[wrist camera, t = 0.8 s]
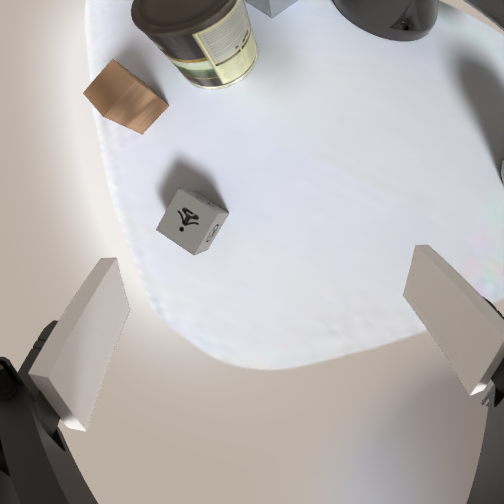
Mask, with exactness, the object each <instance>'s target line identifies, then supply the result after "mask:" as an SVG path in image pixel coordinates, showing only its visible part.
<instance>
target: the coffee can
mask: <svg viewBox="0 0 504 504" xmlns="http://www.w3.org/2000/svg"><path fill="white" fill-rule="evenodd" d="M131 16H132V20H133V22H134V23H135V25H136V26H137V27H138V28H139V29H140V30H141V31H143V32H144V33H145V34H146V35H147V36H148V37H149V38H150V39H151V40H152V41H153V42H154V43H155V44H156V45H157V46H158V47H159V49H160V50H161V51H162V52H163V53H164V54H165V55H166V56H167V57H168V58H169V59H170V60H171V61H172V63H173V64H174V65H175V66H176V67H177V68H178V69H179V71H180V72H181V73H182V74H183V76H184V77H185V78H186V79H187V80H188V81H189V82H190V83H191V84H193V85H195V86H197V87H200V88H204V89H220V88H225V87H228V86H231V85H233V84H235V83H237V82H239V81H240V80H242V79H243V78H244V77H246V76H247V75H248V74H249V73H250V71H251V70H252V69H253V67H254V65H255V63H256V61H257V57H258V47H257V43H256V41H255V39H254V35H253V31H252V27H251V24H250V20H249V17H248V13H247V10H246V6H245V3H244V0H134V1H133V4H132V8H131Z"/></svg>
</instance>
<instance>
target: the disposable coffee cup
mask: <svg viewBox="0 0 504 504" xmlns="http://www.w3.org/2000/svg"><path fill="white" fill-rule="evenodd" d="M501 176H502V181H503V185H504V159H503V161H502V166H501Z"/></svg>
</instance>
